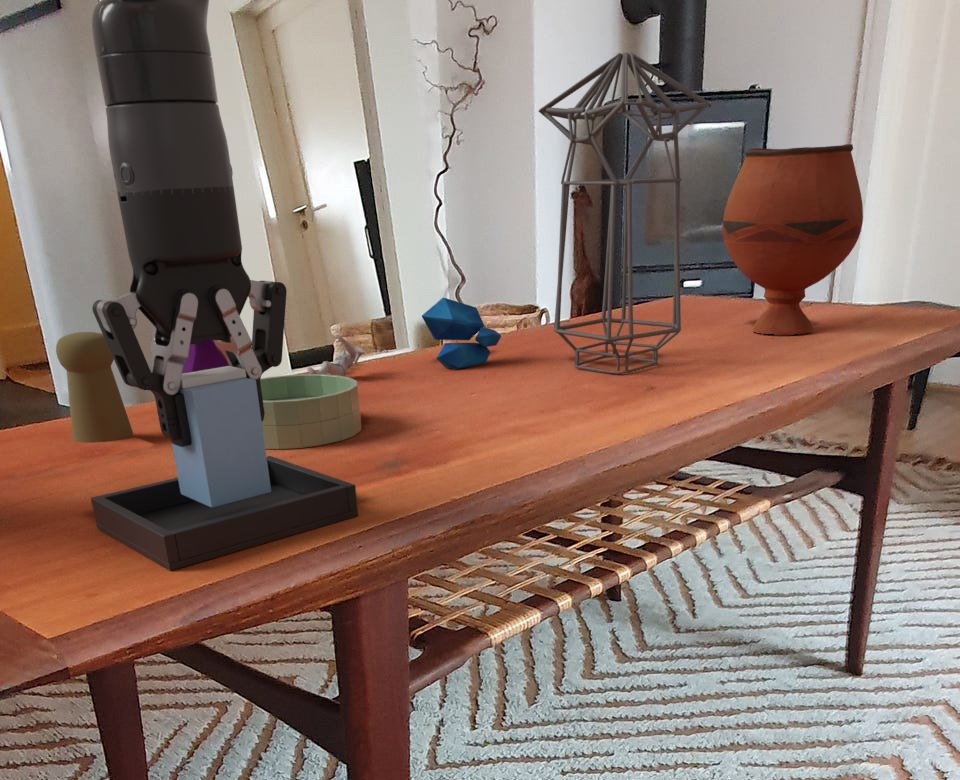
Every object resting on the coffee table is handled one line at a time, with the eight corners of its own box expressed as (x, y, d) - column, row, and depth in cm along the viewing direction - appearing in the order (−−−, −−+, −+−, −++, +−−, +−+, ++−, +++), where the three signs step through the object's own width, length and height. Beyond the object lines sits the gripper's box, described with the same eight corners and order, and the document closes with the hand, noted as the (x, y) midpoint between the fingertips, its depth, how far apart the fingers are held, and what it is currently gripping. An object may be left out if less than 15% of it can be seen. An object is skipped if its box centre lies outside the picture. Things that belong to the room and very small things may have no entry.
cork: (60, 452, 96) (33, 337, 91) (98, 437, 101) (75, 328, 96) (111, 455, 94) (87, 338, 89) (148, 439, 99) (127, 328, 94)
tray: (170, 571, 66) (163, 536, 64) (97, 528, 74) (90, 497, 73) (358, 515, 75) (355, 484, 74) (274, 483, 83) (270, 455, 82)
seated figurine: (284, 399, 119) (317, 352, 127) (317, 424, 121) (347, 375, 129) (315, 358, 114) (346, 311, 122) (348, 384, 116) (377, 336, 124)
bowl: (273, 462, 90) (266, 408, 87) (206, 439, 99) (198, 389, 96) (387, 435, 97) (383, 384, 95) (315, 415, 106) (310, 369, 104)
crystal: (515, 308, 128) (448, 296, 120) (506, 375, 131) (439, 368, 123) (478, 304, 133) (410, 292, 125) (470, 369, 136) (403, 361, 128)
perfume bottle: (255, 416, 107) (231, 241, 99) (188, 426, 104) (157, 246, 96) (234, 404, 113) (210, 238, 105) (170, 414, 110) (140, 243, 102)
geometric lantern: (531, 368, 126) (528, 57, 111) (612, 351, 135) (619, 61, 120) (623, 384, 115) (634, 41, 100) (704, 364, 125) (725, 48, 109)
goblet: (696, 326, 153) (706, 150, 142) (809, 319, 156) (828, 145, 145) (747, 345, 136) (764, 146, 125) (873, 336, 139) (900, 141, 128)
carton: (211, 507, 70) (190, 382, 66) (180, 494, 74) (158, 374, 70) (271, 492, 73) (254, 371, 69) (238, 479, 77) (221, 363, 73)
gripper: (243, 180, 71) (274, 412, 78) (45, 189, 62) (101, 448, 70) (297, 177, 66) (325, 426, 73) (91, 187, 57) (146, 467, 65)
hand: (216, 435), depth 72 cm, fingers closed on carton, 5 cm apart
